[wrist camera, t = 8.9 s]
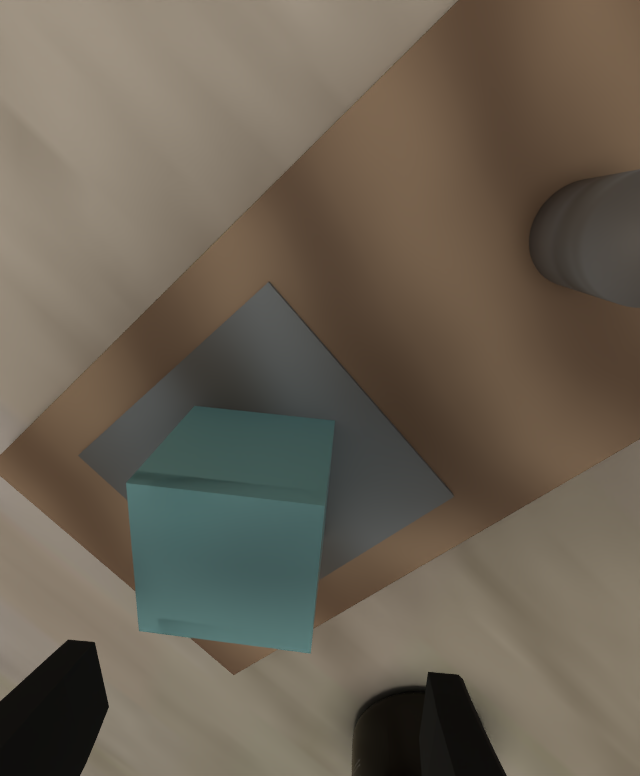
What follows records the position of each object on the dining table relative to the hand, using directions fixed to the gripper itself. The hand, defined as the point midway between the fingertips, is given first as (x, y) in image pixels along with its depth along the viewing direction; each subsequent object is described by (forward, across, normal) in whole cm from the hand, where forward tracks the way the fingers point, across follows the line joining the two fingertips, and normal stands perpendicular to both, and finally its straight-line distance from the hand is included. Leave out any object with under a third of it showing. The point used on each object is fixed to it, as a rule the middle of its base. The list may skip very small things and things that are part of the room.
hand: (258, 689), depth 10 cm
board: (+9, -3, -5) cm, 11 cm away
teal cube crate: (+8, +2, -1) cm, 8 cm away
